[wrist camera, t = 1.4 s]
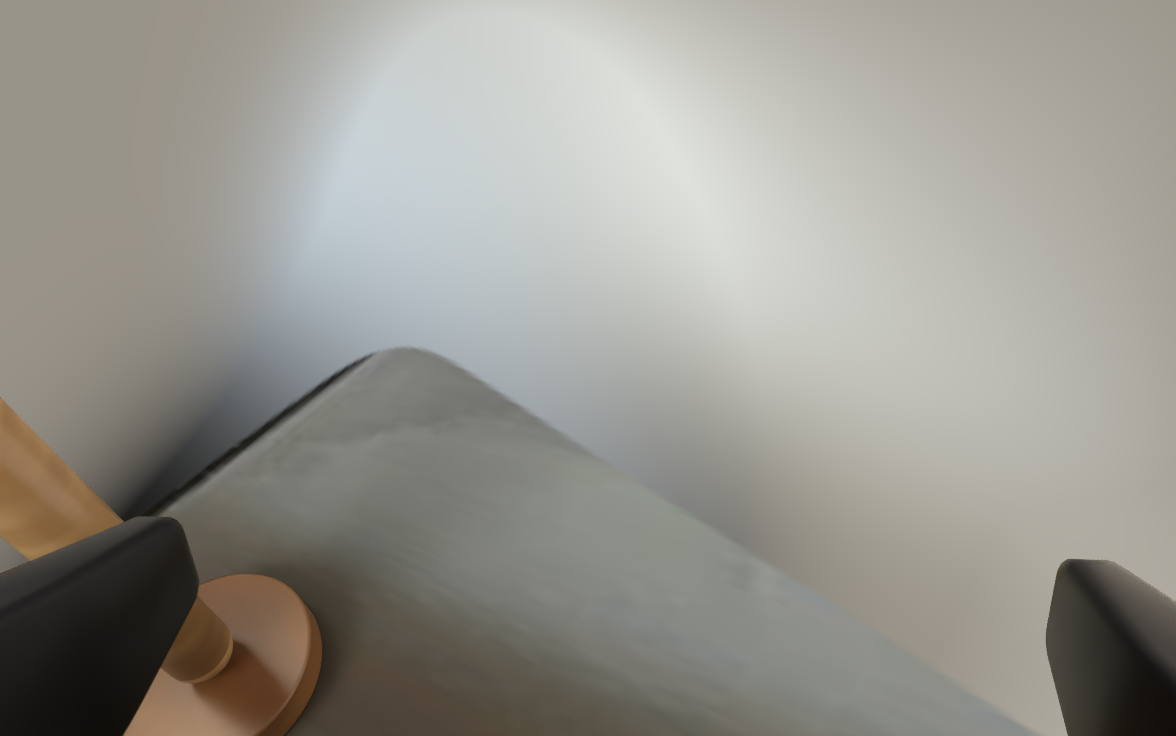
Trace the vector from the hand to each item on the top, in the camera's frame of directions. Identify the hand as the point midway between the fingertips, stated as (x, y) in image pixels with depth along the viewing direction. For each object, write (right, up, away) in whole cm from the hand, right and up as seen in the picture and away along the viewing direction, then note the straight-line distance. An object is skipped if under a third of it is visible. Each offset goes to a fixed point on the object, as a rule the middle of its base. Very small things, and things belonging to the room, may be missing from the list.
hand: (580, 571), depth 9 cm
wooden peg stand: (-10, -7, +16) cm, 20 cm away
